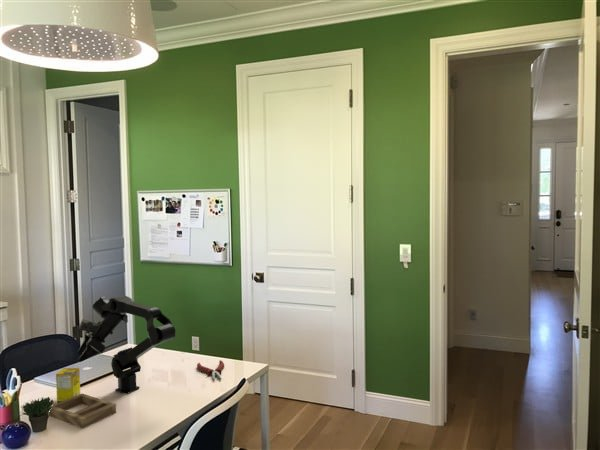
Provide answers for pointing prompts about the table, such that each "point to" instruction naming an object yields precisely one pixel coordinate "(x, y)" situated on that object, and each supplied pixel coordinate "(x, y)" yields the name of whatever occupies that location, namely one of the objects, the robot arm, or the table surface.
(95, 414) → the socket plate
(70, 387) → the supplement box
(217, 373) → the pliers
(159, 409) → the table surface
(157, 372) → the table surface
